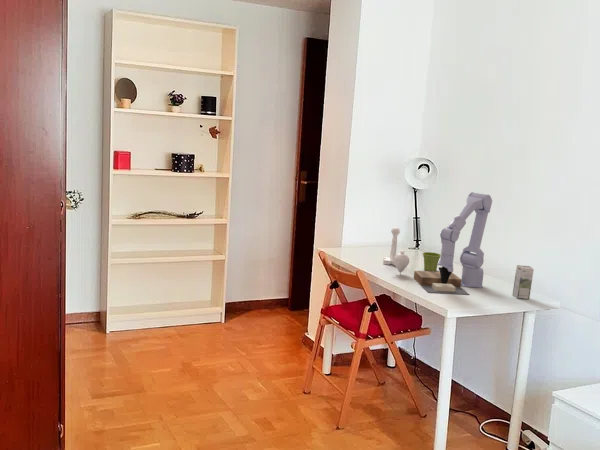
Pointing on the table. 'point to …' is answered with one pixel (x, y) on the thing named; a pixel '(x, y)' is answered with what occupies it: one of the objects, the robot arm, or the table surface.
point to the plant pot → (431, 261)
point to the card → (443, 287)
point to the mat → (457, 291)
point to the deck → (435, 278)
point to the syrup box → (523, 282)
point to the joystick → (392, 247)
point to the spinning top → (401, 261)
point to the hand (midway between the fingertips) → (444, 283)
